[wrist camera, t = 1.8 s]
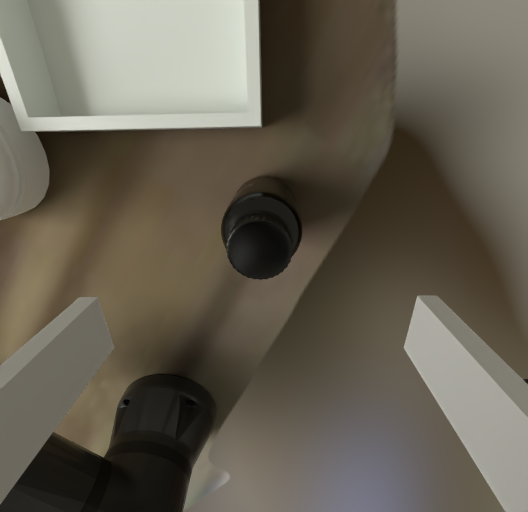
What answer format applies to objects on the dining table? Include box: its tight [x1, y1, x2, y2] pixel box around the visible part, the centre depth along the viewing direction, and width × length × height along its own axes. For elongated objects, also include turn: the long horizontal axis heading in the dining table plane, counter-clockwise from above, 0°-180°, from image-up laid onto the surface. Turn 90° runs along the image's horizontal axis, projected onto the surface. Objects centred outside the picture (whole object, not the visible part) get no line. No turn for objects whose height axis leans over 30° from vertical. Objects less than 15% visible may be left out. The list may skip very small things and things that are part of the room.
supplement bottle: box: [221, 177, 302, 280], centre depth 24 cm, size 7×7×12 cm
